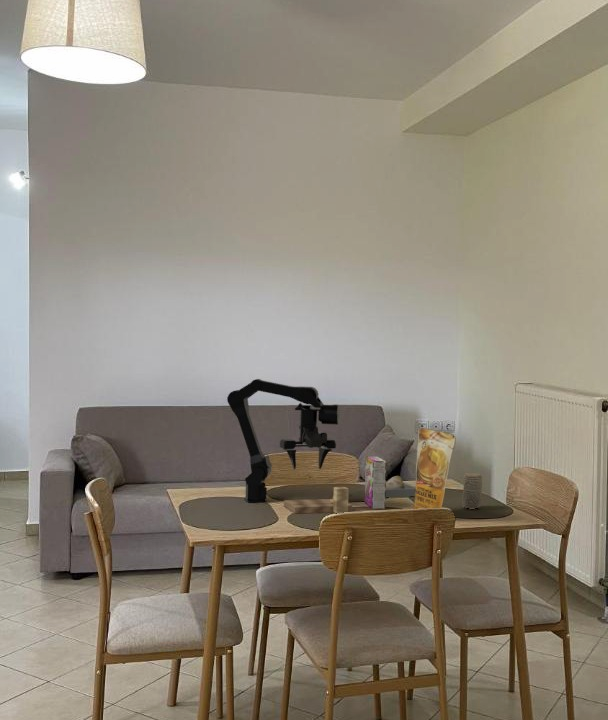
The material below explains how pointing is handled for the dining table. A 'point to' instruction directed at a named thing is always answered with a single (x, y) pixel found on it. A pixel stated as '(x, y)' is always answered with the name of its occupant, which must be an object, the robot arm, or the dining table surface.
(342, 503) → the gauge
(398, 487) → the beige rock
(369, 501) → the candy bar box
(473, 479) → the carving
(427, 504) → the pancake mix bag
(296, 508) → the board
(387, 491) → the mug coaster tray
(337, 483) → the dining table surface
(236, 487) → the dining table surface
